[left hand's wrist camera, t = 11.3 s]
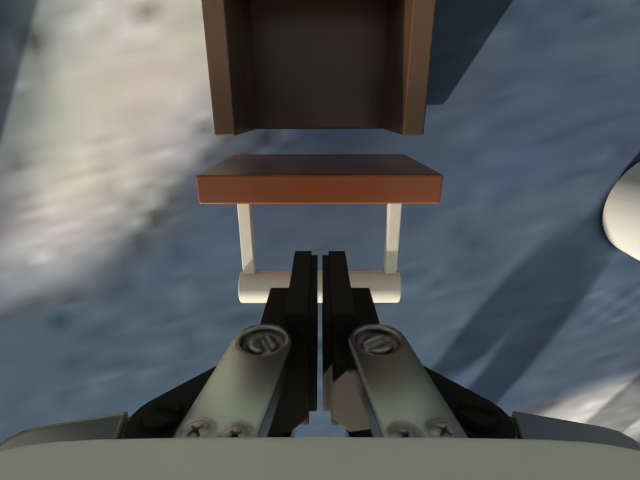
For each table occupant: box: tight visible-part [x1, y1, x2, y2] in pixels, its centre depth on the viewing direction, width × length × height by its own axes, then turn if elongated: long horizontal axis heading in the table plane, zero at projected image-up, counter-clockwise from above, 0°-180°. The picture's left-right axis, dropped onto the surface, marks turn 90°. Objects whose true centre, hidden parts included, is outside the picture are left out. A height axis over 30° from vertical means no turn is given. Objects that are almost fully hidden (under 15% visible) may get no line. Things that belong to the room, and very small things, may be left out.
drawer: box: [196, 0, 443, 303], centre depth 16 cm, size 24×10×7 cm, turn 0°
